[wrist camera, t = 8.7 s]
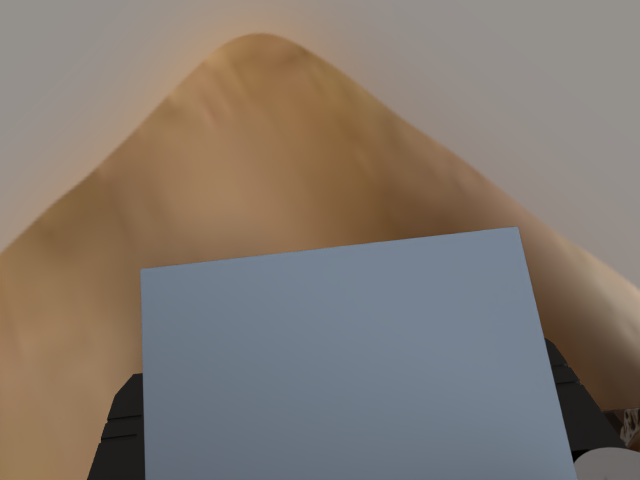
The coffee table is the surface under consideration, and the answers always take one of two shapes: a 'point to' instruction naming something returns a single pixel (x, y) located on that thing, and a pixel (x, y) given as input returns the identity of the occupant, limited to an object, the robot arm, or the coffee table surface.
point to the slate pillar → (352, 365)
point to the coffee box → (626, 426)
